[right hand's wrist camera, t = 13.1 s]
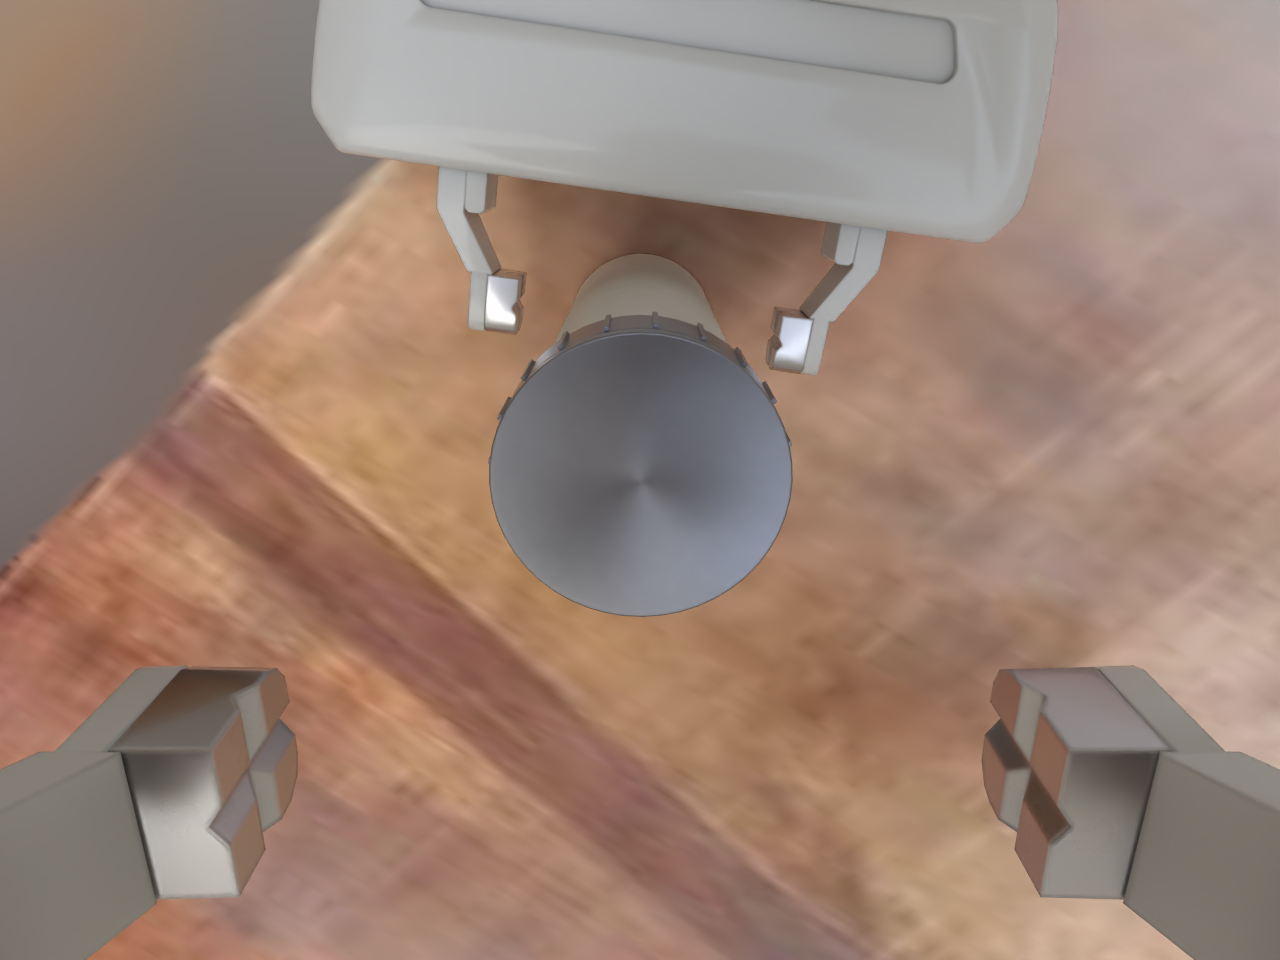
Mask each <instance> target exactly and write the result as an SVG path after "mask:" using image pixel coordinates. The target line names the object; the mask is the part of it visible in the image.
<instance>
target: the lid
mask: <svg viewBox="0 0 1280 960" xmlns="http://www.w3.org/2000/svg"><path fill="white" fill-rule="evenodd" d="M521 379H522V380H521V382H520V384H519V385H518V387H517V389H516V391H515V392H514V394H513V396H512V398H511V397H508V399H507V400H506V402H505V404H504V406H503V408H502V410H501V411H500V413H499V415H498V418H497V419H498V420H501V421H500V423H499V425H498V427H497V430H496V434H495V437H494V441H493V444H492V450H491V456H490V458H489V484H490V491H491V498H492V504H493V507H494V510H495V514H496V517H497V521H498V523H499V525H500V527H501V530H502V532H503V534H504V536H505V538H506V540H507V541H508V543H509V545H510V546H511V548H512V550H513V551H514V553H515V554H516V555H517V557H518V558H519V559H520V560H521V562H522V563H523V564H524V565H525V567H526V568H527V569H528V570H530V571H531V572H532V573H533V574H534V575H535V576H536V577H537V578H538V579H539V580H540V581H541V582H543V583H544V584H545V585H547V586H548V587H549V588H551V589H552V590H553V591H555V592H557V593H558V594H560V595H562V596H564V597H565V598H567V599H569V600H571V601H573V602H576V603H578V604H580V605H583V606H585V607H587V608H591V609H594V610H598V611H601V612H605V613H610V614H616V615H622V616H639V617H645V616H660V615H666V614H671V613H677V612H681V611H684V610H687V609H691V608H694V607H697V606H699V605H702V604H704V603H706V602H708V601H711V600H713V599H715V598H716V597H718V596H720V595H721V594H723V593H725V592H727V591H728V590H730V589H731V588H732V587H734V586H735V585H736V584H738V583H739V582H740V581H741V580H743V579H744V578H745V577H746V576H747V575H748V574H749V573H750V572H751V571H752V570H753V569H754V568H755V567H756V566H757V565H758V564H759V563H760V561H761V560H762V559H763V557H764V556H765V555H766V554H767V552H768V551H769V550H770V548H771V546H772V544H773V543H774V541H775V539H776V538H777V536H778V534H779V532H780V529H781V527H782V524H783V522H784V520H785V517H786V513H787V510H788V506H789V502H790V497H791V489H792V458H791V452H790V446H791V441H790V439H789V437H788V435H787V433H786V431H785V428H784V425H783V423H782V421H781V419H780V417H779V415H778V412H777V410H776V408H775V406H774V404H775V403H776V402H777V401H776V399H775V397H774V396H773V394H772V392H771V390H770V388H769V387H768V385H767V383H766V381H765V382H763V383H762V382H761V381H760V379H759V378H758V376H757V375H756V373H755V371H754V370H753V369H752V368H751V366H750V365H749V364H748V363H747V362H746V360H745V358H744V356H743V354H742V352H741V350H740V349H739V348H738V347H736V348H735V349H733V348H732V347H731V346H730V345H728V344H727V343H726V342H724V341H723V340H721V339H720V338H718V337H717V336H715V335H714V334H712V333H710V332H708V331H706V330H704V327H703V325H702V324H700V323H697V326H696V325H693V324H690V323H687V322H684V321H681V320H678V319H673V318H668V317H662V316H658V312H652V315H629V316H619V317H614V318H612V317H611V314H609V315H606V317H605V320H601V321H598V322H595V323H592V324H589V325H586V326H584V327H582V328H580V329H578V330H576V331H574V332H572V333H570V334H569V333H568V331H566V332H564V333H563V335H562V337H561V339H560V340H559V341H558V342H556V343H555V344H553V345H552V346H551V347H550V348H549V349H548V350H546V351H545V352H544V353H543V354H542V355H541V356H540V357H539V358H538V359H537V360H536V361H533V360H531V361H530V362H529V364H528V366H527V367H526V369H525V371H524V373H523V375H522V377H521Z"/></svg>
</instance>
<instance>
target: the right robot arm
mask: <svg viewBox="0 0 1280 960" xmlns="http://www.w3.org/2000/svg"><path fill="white" fill-rule="evenodd" d="M289 702H290V700H289V695H288V690H287V685H286V680H285V676H284V675H283V674H282V673H281V672H280V671H279V670H278V669H277V668H246V667H196V666H192V667H187V666H148V667H144V668H139V669H136V670H135V671H134V672H133V673H132V674H131V675H130V676H129V677H128V678H127V679H126V680H125V681H124V682H123V683H122V684H121V685H120V686H119V687H118V688H117V689H116V690H115V691H114V692H113V693H112V694H111V695H110V696H109V697H108V698H107V699H106V700H105V701H104V702H103V703H102V704H101V705H100V706H99V707H98V708H97V709H96V710H95V711H94V712H93V713H92V714H91V715H90V716H89V717H88V718H87V719H86V720H85V721H84V722H83V723H82V724H81V725H80V726H79V728H78V729H77V730H76V731H75V732H74V733H73V734H72V735H71V736H70V737H69V738H68V739H67V740H66V741H65V742H64V743H63V744H62V745H61V746H60V747H59V748H58V749H57V750H56V751H55V752H38V753H36V754H34V755H32V756H29V757H27V758H25V759H23V760H21V761H18V762H16V763H14V764H12V765H9V766H7V767H5V768H3V769H1V770H0V960H86V959H88V958H89V957H90V956H91V955H93V954H94V953H95V952H96V951H98V950H99V949H100V948H101V947H103V946H104V945H105V944H106V943H108V942H109V941H110V940H111V939H113V938H114V937H115V936H116V935H118V934H119V933H120V932H121V931H123V930H124V929H125V928H127V927H128V926H129V925H130V924H132V923H133V922H134V921H135V920H137V919H138V918H139V917H140V916H142V915H143V914H144V913H145V912H147V911H148V910H149V909H150V908H152V907H153V906H154V905H155V904H156V899H188V898H222V897H240V895H241V893H242V891H243V890H244V888H245V886H246V884H247V882H248V880H249V879H250V877H251V875H252V873H253V871H254V869H255V868H256V866H257V864H258V862H259V860H260V859H261V857H262V855H263V853H264V851H265V844H264V838H263V832H264V831H265V830H267V829H268V828H270V827H271V826H273V825H274V824H276V823H277V822H279V821H280V820H282V818H283V816H284V814H285V812H286V810H287V808H288V806H289V804H290V802H291V800H292V796H293V791H294V787H295V783H296V779H297V772H298V751H297V744H296V737H295V734H294V733H293V732H292V731H291V730H290V729H289V728H288V727H287V726H286V725H285V724H284V723H283V722H282V721H281V720H280V719H279V718H280V716H281V715H282V713H283V712H284V710H285V708H286V707H287V705H288V704H289ZM990 702H991V704H992V705H993V707H994V708H995V710H996V712H997V713H998V715H999V716H1000V718H1001V719H1000V720H999V721H998V722H997V723H996V724H995V725H994V726H993V727H992V728H991V729H990V730H989V731H988V732H987V733H986V734H985V738H984V746H983V754H982V767H983V778H984V786H985V789H986V792H987V795H988V799H989V802H990V804H991V806H992V808H993V810H994V812H995V814H996V816H997V818H998V820H1000V821H1001V822H1003V823H1004V824H1006V825H1007V826H1009V827H1010V828H1012V829H1013V830H1015V831H1016V832H1017V838H1016V844H1015V851H1016V853H1017V855H1018V857H1019V858H1020V860H1021V862H1022V864H1023V866H1024V868H1025V869H1026V871H1027V873H1028V875H1029V877H1030V878H1031V880H1032V882H1033V884H1034V886H1035V888H1036V889H1037V891H1038V893H1039V895H1040V897H1055V898H1091V899H1124V902H1123V903H1124V904H1125V905H1126V906H1127V907H1129V908H1130V909H1131V910H1132V911H1134V912H1135V913H1136V914H1138V915H1139V916H1140V917H1141V918H1143V919H1144V920H1145V921H1146V922H1148V923H1149V924H1150V925H1151V926H1153V927H1154V928H1155V929H1156V930H1158V931H1159V932H1160V933H1161V934H1163V935H1164V936H1165V937H1166V938H1168V939H1169V940H1170V941H1171V942H1173V943H1174V944H1175V945H1176V946H1178V947H1179V948H1180V949H1181V950H1183V951H1184V952H1185V953H1186V954H1188V955H1189V956H1190V957H1192V958H1193V959H1194V960H1280V770H1279V769H1277V768H1275V767H1273V766H1270V765H1268V764H1266V763H1264V762H1262V761H1259V760H1257V759H1255V758H1253V757H1251V756H1248V755H1246V754H1244V753H1242V752H1225V751H1224V750H1223V749H1222V748H1221V747H1220V746H1219V745H1218V744H1217V743H1216V742H1215V740H1214V739H1213V738H1212V737H1211V736H1210V735H1209V734H1208V733H1207V732H1206V731H1205V730H1204V729H1203V728H1202V727H1201V726H1200V725H1199V724H1198V723H1197V722H1196V721H1195V720H1194V719H1193V718H1192V717H1191V716H1190V715H1189V714H1188V713H1187V712H1186V711H1185V710H1184V709H1183V708H1182V707H1181V706H1180V705H1179V704H1178V703H1177V702H1176V701H1175V700H1174V699H1173V698H1172V697H1171V696H1170V695H1169V694H1168V693H1167V692H1166V691H1165V690H1164V689H1163V688H1162V687H1161V686H1160V685H1159V684H1158V683H1157V682H1156V681H1155V680H1154V679H1153V678H1152V677H1151V676H1150V675H1149V674H1148V673H1147V672H1146V671H1145V670H1143V669H1141V668H1138V667H1135V666H1133V665H1131V666H1105V667H1081V668H1042V669H1005V670H999V672H998V674H997V676H996V678H995V680H994V683H993V688H992V694H991V700H990Z"/></svg>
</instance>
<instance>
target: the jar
mask: <svg viewBox="0 0 1280 960" xmlns="http://www.w3.org/2000/svg"><path fill="white" fill-rule="evenodd" d="M652 312H658V316H662V317H668V318H673V319H678V320H681V321H684V322H687V323H690V324H693V325H696V326H697V323H700V324H702V325H703V327H704V330H706V331H708V332H710V333H712V334H714V335H715V336H717V337H718V338H720V339H721V340H723V341H724V342H726V340H725V338H724V335H723V333H722V331H721V329H720V327H719V324H718V322H717V320H716V318H715V316H714V313H713V311H712V309H711V307H710V305H709V303H708V300H707V298H706V296H705V294H704V292H703V290H702V288H701V287H700V285H699V284H698V282H697V281H696V280H695V279H694V277H693V276H692V275H691V274H690V273H689V272H688V271H686V270H685V269H684V268H683V267H681V266H680V265H678V264H677V263H675V262H673V261H671V260H669V259H666V258H663V257H660V256H656V255H651V254H630V255H625V256H621V257H618V258H615V259H613V260H611V261H609V262H607V263H605V264H603V265H602V266H600V267H599V268H598V269H596V270H595V271H594V272H593V273H592V274H591V275H590V276H589V277H588V278H587V279H586V281H585V282H584V283H583V284H582V286H581V288H580V289H579V291H578V293H577V295H576V297H575V300H574V302H573V304H572V306H571V308H570V311H569V313H568V315H567V317H566V319H565V322H564V324H563V326H562V328H561V330H560V333H559V335H558V337H557V339H556V341H555V343H556V342H558V341H559V340H560V339H561V337H562V335H563V333H564V332H566V331H568V333H569V334H570V333H572V332H574V331H576V330H578V329H580V328H582V327H584V326H586V325H589V324H592V323H595V322H598V321H601V320H605V317H606V315H609V314H611V317H612V318H614V317H619V316H629V315H652ZM726 343H727V342H726Z"/></svg>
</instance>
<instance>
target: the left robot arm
mask: <svg viewBox="0 0 1280 960" xmlns="http://www.w3.org/2000/svg"><path fill="white" fill-rule="evenodd" d="M1057 36H1058V4H1057V0H319V3H318V10H317V19H316V28H315V38H314V48H313V61H312V76H311V107H312V111H313V114H314V116H315V118H316V120H317V121H318V123H319V124H320V126H321V127H322V129H323V130H324V132H325V133H326V135H327V136H328V138H329V139H330V141H331V142H332V144H333V145H334V146H335V148H336V149H338V150H339V151H341V152H344V153H349V154H356V155H363V156H370V157H377V158H384V159H391V160H398V161H405V162H412V163H419V164H426V165H433V166H439V176H438V194H437V210H438V212H439V214H440V216H441V218H442V220H443V223H444V225H445V227H446V229H447V231H448V233H449V235H450V237H451V239H452V241H453V243H454V245H455V248H456V250H457V252H458V254H459V256H460V258H461V260H462V262H463V264H464V266H465V268H466V270H467V271H468V272H471V281H470V296H469V311H468V325H469V329H473V330H479V331H488V332H496V333H505V334H513V335H516V334H517V331H519V330H520V327H521V323H522V316H523V305H522V304H521V302H520V300H519V299H520V298H521V297H522V296H523V294H524V293H525V283H526V272H521V271H514V270H508V269H502V268H501V265H500V263H499V260H498V258H497V256H496V253H495V251H494V249H493V246H492V244H491V242H490V240H489V237H488V235H487V233H486V230H485V228H484V226H483V223H482V221H481V219H480V216H479V214H481V213H484V212H486V211H489V210H492V209H493V208H494V207H495V206H496V195H497V183H498V175H502V176H509V177H516V178H523V179H530V180H537V181H544V182H551V183H558V184H565V185H572V186H579V187H586V188H593V189H600V190H607V191H614V192H621V193H628V194H635V195H642V196H649V197H656V198H663V199H670V200H677V201H684V202H691V203H698V204H705V205H712V206H719V207H726V208H733V209H740V210H747V211H754V212H761V213H768V214H775V215H782V216H789V217H796V218H803V219H810V220H817V221H824V222H826V228H825V233H824V239H823V244H822V249H821V254H822V255H823V257H825V258H827V259H829V260H831V261H832V262H834V263H835V264H834V266H833V267H832V268H831V269H830V271H829V272H828V273H827V274H826V276H825V277H824V278H823V279H822V281H821V282H820V283H819V284H818V285H817V287H816V288H815V289H814V290H813V292H812V293H811V294H810V295H809V297H808V298H807V299H806V300H805V302H804V303H803V304H802V305H801V307H800V308H799V309H800V310H798V309H789V308H780V307H774V312H773V318H772V323H771V328H772V330H773V333H774V335H773V336H772V337H771V338H770V339H769V340H768V344H767V350H766V363H767V364H768V365H769V368H770V369H771V370H777V371H784V372H790V373H797V374H805V375H812V376H816V374H817V373H818V370H819V368H820V364H821V360H822V355H823V350H824V346H825V341H826V336H827V331H828V327H829V322H834V321H835V320H836V319H837V318H838V316H839V315H840V314H841V313H842V312H843V311H844V310H845V309H846V307H847V306H848V305H849V304H850V303H851V302H852V301H853V299H854V298H855V297H856V296H857V295H858V294H859V293H860V292H861V290H862V289H863V288H864V287H865V286H866V285H867V284H868V282H869V281H870V280H871V279H872V278H873V277H874V276H875V274H876V273H877V272H878V271H879V266H880V262H881V258H882V253H883V249H884V245H885V240H886V236H887V232H888V231H894V232H901V233H908V234H915V235H922V236H928V237H935V238H942V239H950V240H957V241H964V242H971V243H984V242H987V241H988V240H990V239H991V238H992V237H994V236H995V235H996V234H997V233H998V232H999V231H1001V230H1002V229H1003V228H1004V227H1005V226H1006V225H1007V224H1008V223H1009V222H1010V221H1011V220H1012V219H1013V218H1014V217H1015V216H1017V214H1018V213H1019V211H1020V210H1021V208H1022V206H1023V203H1024V201H1025V198H1026V195H1027V191H1028V188H1029V185H1030V182H1031V178H1032V174H1033V170H1034V166H1035V162H1036V158H1037V153H1038V149H1039V145H1040V140H1041V136H1042V131H1043V126H1044V121H1045V116H1046V110H1047V105H1048V99H1049V93H1050V88H1051V81H1052V74H1053V67H1054V60H1055V52H1056V44H1057ZM478 213H479V214H478Z"/></svg>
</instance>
